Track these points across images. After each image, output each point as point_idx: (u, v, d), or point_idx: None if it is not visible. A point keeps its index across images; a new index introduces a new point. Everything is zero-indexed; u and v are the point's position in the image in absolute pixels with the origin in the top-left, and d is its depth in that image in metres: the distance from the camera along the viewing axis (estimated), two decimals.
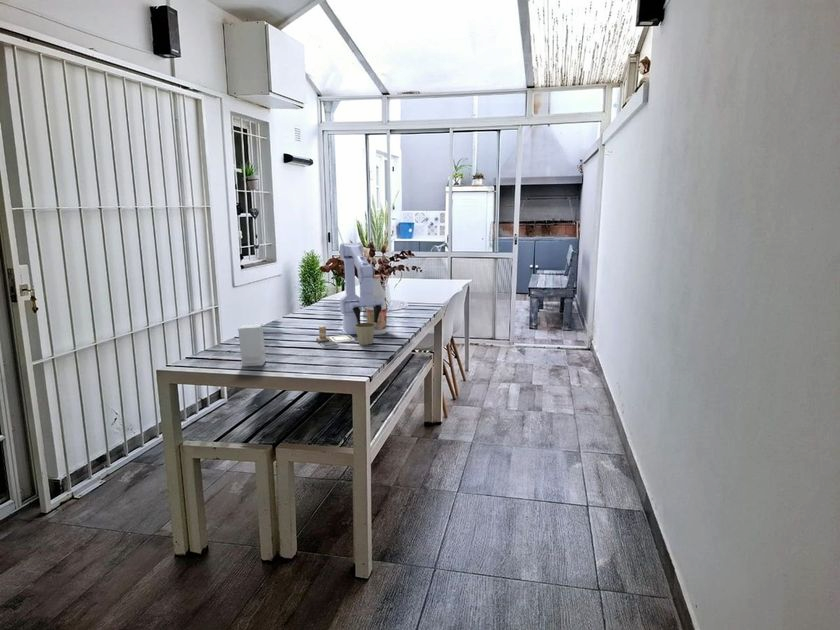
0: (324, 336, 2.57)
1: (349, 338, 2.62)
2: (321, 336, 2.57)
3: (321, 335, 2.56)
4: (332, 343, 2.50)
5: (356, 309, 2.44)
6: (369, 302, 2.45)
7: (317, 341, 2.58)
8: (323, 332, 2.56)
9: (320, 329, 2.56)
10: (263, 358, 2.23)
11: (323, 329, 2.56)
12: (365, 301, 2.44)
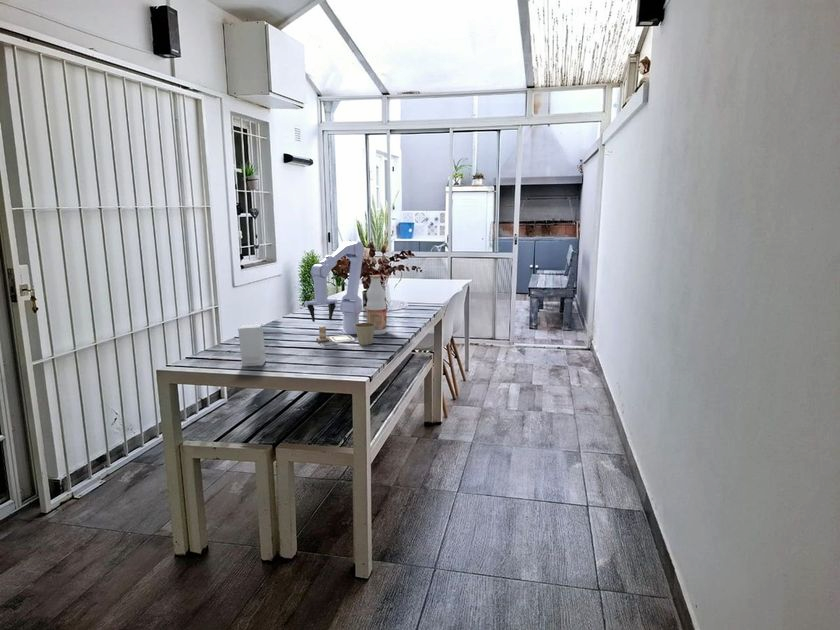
0: (324, 336, 2.57)
1: (349, 338, 2.62)
2: (321, 336, 2.57)
3: (321, 335, 2.56)
4: (332, 343, 2.50)
5: (310, 307, 2.52)
6: (323, 300, 2.52)
7: (317, 341, 2.58)
8: (323, 332, 2.56)
9: (320, 329, 2.56)
10: (263, 358, 2.23)
11: (323, 329, 2.56)
12: (319, 299, 2.52)
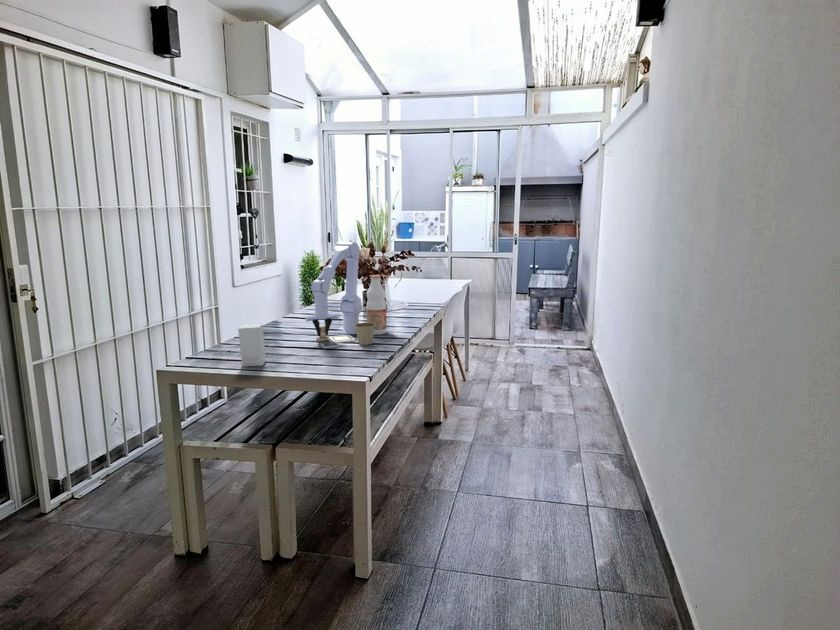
0: (324, 336, 2.57)
1: (349, 338, 2.62)
2: (321, 336, 2.57)
3: (321, 335, 2.56)
4: (332, 343, 2.50)
5: (315, 322, 2.54)
6: (323, 315, 2.54)
7: (317, 341, 2.58)
8: (323, 332, 2.56)
9: (320, 329, 2.56)
10: (263, 358, 2.23)
11: (323, 329, 2.56)
12: (319, 314, 2.53)
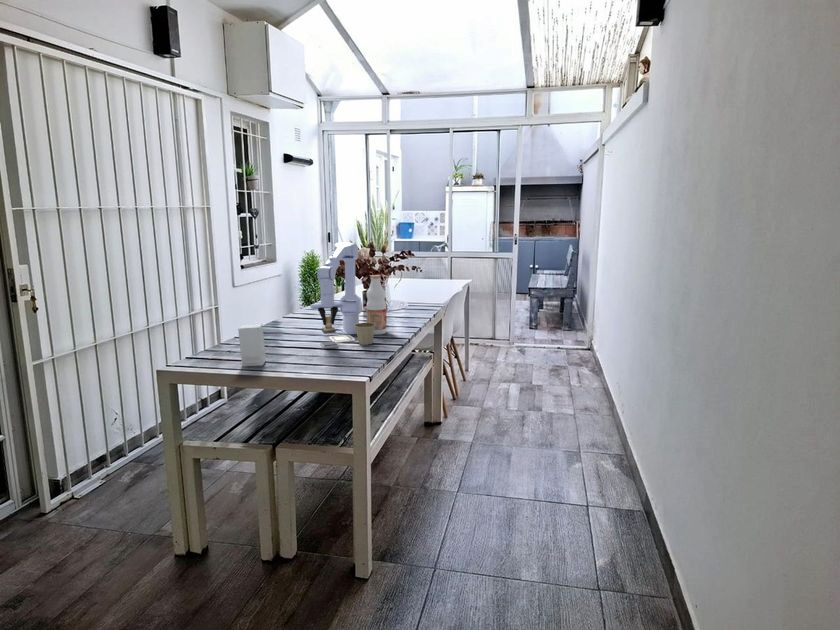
0: (330, 326, 2.48)
1: (349, 338, 2.62)
2: (327, 326, 2.48)
3: (327, 325, 2.48)
4: (332, 343, 2.50)
5: (321, 310, 2.45)
6: (329, 303, 2.44)
7: (323, 331, 2.49)
8: (329, 322, 2.47)
9: (326, 319, 2.47)
10: (263, 358, 2.23)
11: (329, 319, 2.47)
12: (325, 302, 2.44)
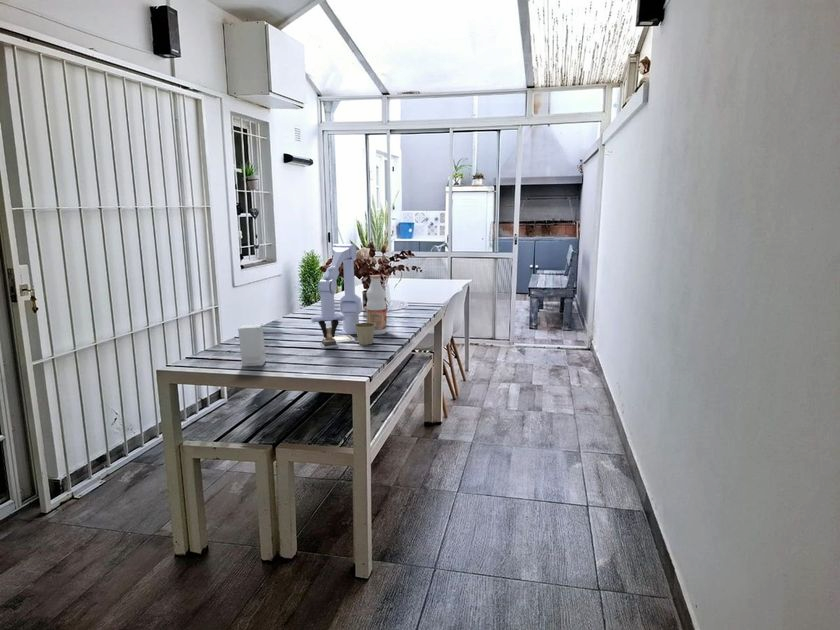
0: (330, 337, 2.49)
1: (349, 338, 2.62)
2: (327, 337, 2.49)
3: (327, 336, 2.49)
4: None
5: (322, 323, 2.46)
6: (330, 316, 2.46)
7: (323, 342, 2.50)
8: (329, 333, 2.49)
9: (326, 330, 2.48)
10: (263, 358, 2.23)
11: (329, 330, 2.48)
12: (326, 315, 2.45)
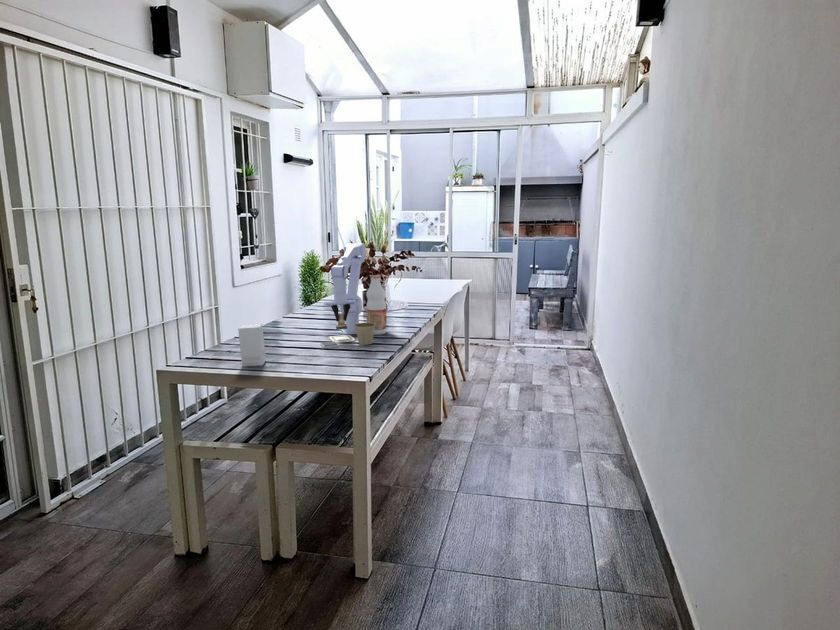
0: (342, 322, 2.59)
1: (349, 338, 2.62)
2: (339, 322, 2.59)
3: (339, 321, 2.59)
4: (332, 343, 2.50)
5: (334, 307, 2.56)
6: (342, 301, 2.56)
7: (336, 327, 2.61)
8: (341, 318, 2.59)
9: (338, 315, 2.59)
10: (263, 358, 2.23)
11: (341, 315, 2.59)
12: (338, 300, 2.56)
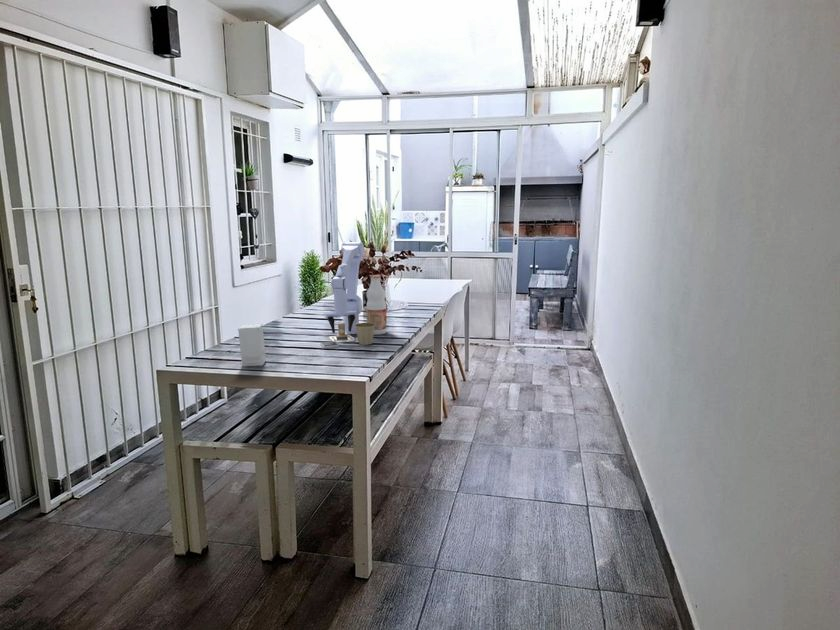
0: (343, 333, 2.60)
1: (349, 338, 2.62)
2: (340, 332, 2.60)
3: (340, 331, 2.60)
4: (332, 343, 2.50)
5: (330, 319, 2.57)
6: (343, 312, 2.57)
7: (336, 337, 2.62)
8: (341, 329, 2.60)
9: (339, 325, 2.60)
10: (263, 358, 2.23)
11: (342, 326, 2.59)
12: (339, 311, 2.57)
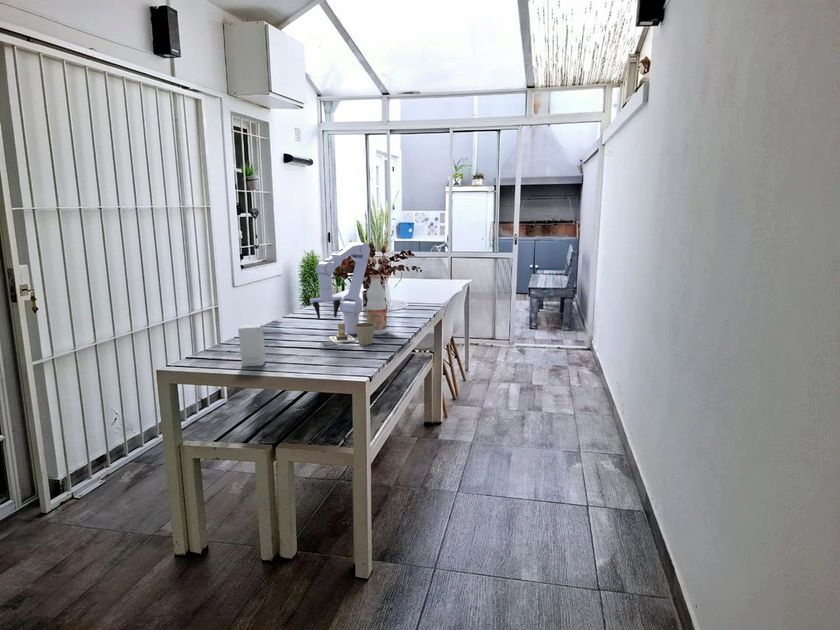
0: (343, 333, 2.60)
1: (349, 338, 2.62)
2: (340, 332, 2.60)
3: (340, 331, 2.60)
4: (332, 343, 2.50)
5: (315, 304, 2.55)
6: (328, 297, 2.56)
7: (336, 337, 2.62)
8: (341, 329, 2.60)
9: (339, 325, 2.60)
10: (263, 358, 2.23)
11: (342, 326, 2.59)
12: (324, 296, 2.55)
